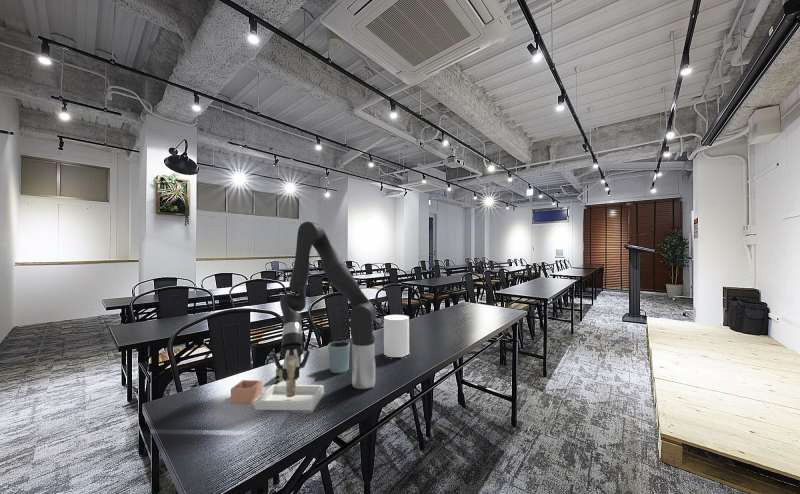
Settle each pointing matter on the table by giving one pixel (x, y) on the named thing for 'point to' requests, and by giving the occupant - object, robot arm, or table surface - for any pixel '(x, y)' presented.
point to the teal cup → (339, 356)
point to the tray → (290, 398)
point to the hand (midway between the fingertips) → (290, 379)
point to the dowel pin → (290, 375)
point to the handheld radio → (279, 374)
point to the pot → (246, 391)
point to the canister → (396, 335)
